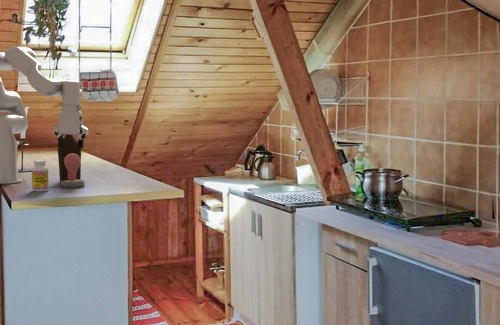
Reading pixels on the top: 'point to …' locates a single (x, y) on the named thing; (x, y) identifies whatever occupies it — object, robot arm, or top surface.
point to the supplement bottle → (39, 176)
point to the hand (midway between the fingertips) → (70, 147)
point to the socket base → (73, 183)
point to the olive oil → (68, 148)
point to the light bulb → (72, 165)
